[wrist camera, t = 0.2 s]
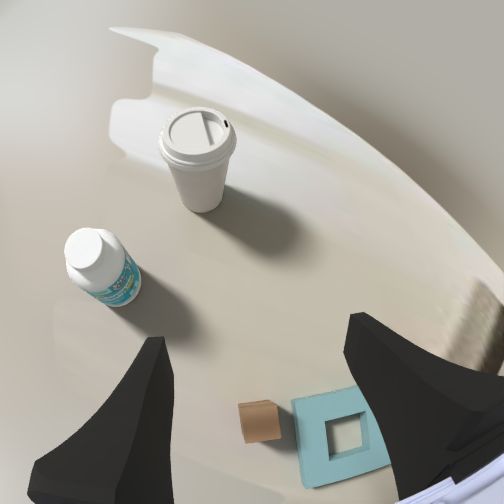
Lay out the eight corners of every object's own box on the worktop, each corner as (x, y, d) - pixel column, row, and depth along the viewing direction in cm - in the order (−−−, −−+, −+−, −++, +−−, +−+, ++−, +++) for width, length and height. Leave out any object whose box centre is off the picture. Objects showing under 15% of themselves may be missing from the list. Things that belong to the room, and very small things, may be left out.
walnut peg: (272, 427, 37) (281, 438, 30) (241, 431, 36) (245, 443, 30) (268, 399, 38) (276, 405, 32) (238, 403, 38) (240, 410, 31)
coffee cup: (227, 225, 47) (230, 165, 33) (165, 217, 46) (145, 156, 32) (236, 173, 50) (242, 106, 36) (179, 166, 50) (168, 100, 36)
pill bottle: (109, 318, 40) (66, 295, 28) (88, 275, 42) (45, 239, 29) (152, 290, 42) (125, 257, 30) (128, 248, 44) (98, 204, 31)
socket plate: (385, 459, 36) (393, 462, 33) (301, 483, 34) (306, 489, 32) (377, 380, 40) (385, 380, 38) (290, 399, 39) (295, 401, 36)
